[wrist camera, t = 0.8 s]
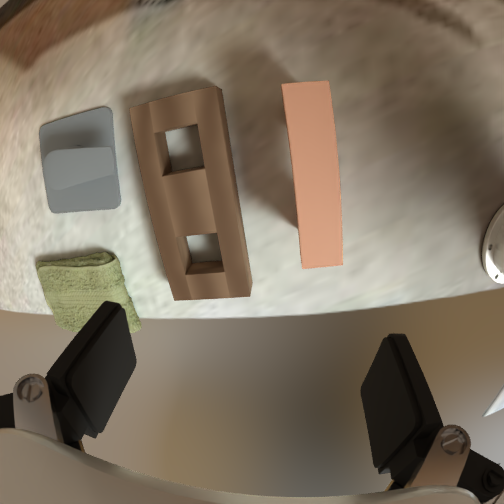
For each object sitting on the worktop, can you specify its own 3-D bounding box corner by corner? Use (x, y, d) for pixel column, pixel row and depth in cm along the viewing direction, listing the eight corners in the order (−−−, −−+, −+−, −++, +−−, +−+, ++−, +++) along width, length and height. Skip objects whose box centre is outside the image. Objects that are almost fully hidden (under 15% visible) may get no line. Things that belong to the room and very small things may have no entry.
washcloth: (37, 257, 38) (25, 266, 35) (119, 246, 35) (107, 257, 32) (66, 324, 43) (57, 335, 40) (148, 328, 40) (140, 342, 37)
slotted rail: (221, 89, 26) (215, 85, 23) (252, 282, 35) (250, 296, 32) (142, 108, 27) (129, 108, 25) (181, 287, 36) (174, 300, 33)
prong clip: (315, 92, 25) (328, 80, 18) (329, 231, 31) (342, 265, 24) (280, 95, 26) (281, 83, 19) (297, 234, 32) (302, 268, 25)
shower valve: (120, 220, 28) (29, 225, 29) (142, 205, 33) (54, 211, 34) (108, 99, 22) (15, 130, 24) (133, 101, 27) (43, 126, 29)
